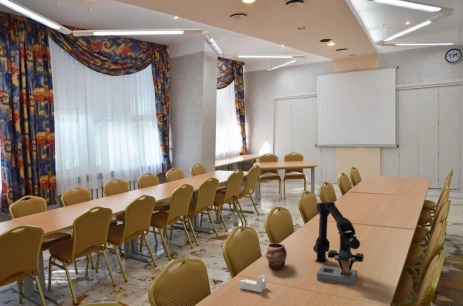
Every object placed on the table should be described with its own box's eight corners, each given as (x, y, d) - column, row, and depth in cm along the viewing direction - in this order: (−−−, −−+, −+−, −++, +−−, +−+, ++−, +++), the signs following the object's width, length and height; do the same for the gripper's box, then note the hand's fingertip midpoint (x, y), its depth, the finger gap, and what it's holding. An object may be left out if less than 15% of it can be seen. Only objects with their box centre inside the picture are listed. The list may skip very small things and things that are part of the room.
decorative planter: (274, 259, 234) (273, 239, 233) (292, 262, 228) (291, 241, 227) (262, 270, 217) (261, 248, 216) (280, 274, 210) (279, 251, 209)
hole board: (322, 271, 210) (322, 265, 210) (357, 277, 201) (357, 270, 200) (317, 279, 200) (316, 273, 200) (353, 285, 190) (353, 278, 190)
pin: (341, 276, 197) (341, 259, 196) (343, 273, 200) (342, 256, 200) (349, 277, 195) (348, 260, 194) (350, 274, 198) (350, 257, 198)
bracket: (265, 290, 193) (266, 275, 194) (260, 292, 187) (261, 277, 188) (244, 285, 200) (245, 272, 201) (238, 287, 194) (239, 273, 195)
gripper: (325, 246, 194) (325, 273, 195) (360, 250, 185) (361, 279, 186) (329, 239, 204) (330, 266, 205) (363, 243, 195) (364, 270, 196)
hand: (346, 270), depth 197 cm, fingers closed on pin, 4 cm apart
